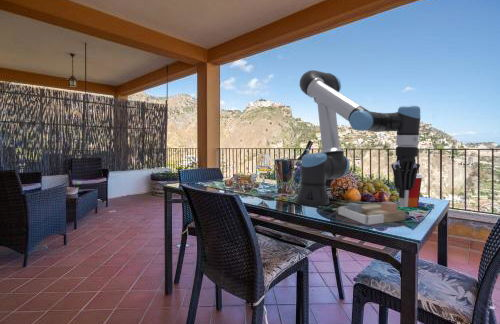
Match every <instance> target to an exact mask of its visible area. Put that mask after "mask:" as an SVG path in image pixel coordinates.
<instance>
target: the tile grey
mask: <svg viewBox="0 0 500 324" xmlns="http://www.w3.org/2000/svg"><path fill="white" fill-rule="evenodd" d="M347 206H348V210H351V211H354V212H357V213H360V214H361V206H362V204H359V203H357V202H350V203H349V202H348V203H347Z"/></svg>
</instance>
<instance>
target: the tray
mask: <svg viewBox="0 0 500 324" xmlns="http://www.w3.org/2000/svg"><path fill="white" fill-rule="evenodd" d="M337 214H338V215H340V216H342V217H344V218H348V219H349V220H351V221H352V220H353V221H355V222H358V223H360V224H363V225H365V226H370V225H377V224H384V223H383V222H384V215H383V214H379V215H370V216H367V215H364V214H360V213H357V212H354V211H351V210H348V205H344V206H343V205H342V206H338V211H337Z"/></svg>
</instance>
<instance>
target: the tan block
mask: <svg viewBox="0 0 500 324" xmlns="http://www.w3.org/2000/svg"><path fill="white" fill-rule="evenodd" d="M380 205H381V210H384V211H387V212H396V211H397V210H399V208H398V206H399V203H397V202H393V201H389V200H388V201H381V203H380Z"/></svg>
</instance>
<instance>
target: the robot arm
mask: <svg viewBox="0 0 500 324" xmlns="http://www.w3.org/2000/svg"><path fill="white" fill-rule="evenodd" d="M341 84H342V83H341V80H340V78H339V77H338V76H337V75H336V74H333V73H330V72H324V71H319V70H311V69H310V70H307V71H305V72H304V73H303V74H302V75H301V76H300V80H299V88H300V90H301V92H302V93H304V94H305V95H306V96H308V97H309V98H311V99H313V102H314V103H315V104H317V112H318V121H319V122H318V123H319V131H320V141H321V151H319V152H314V153H312V152H311V153H306V154H304V155H302V157H301V162H300V187H299V190H298V192H297V195H296V202H297V203H298V204H301V205H305V206H314V207H315V206H316V207H317V206H318V207H319V206H321V207H322V206H326V205H330V198H329V195H328V191H327V187H326V185H327V180H335V179H337V178H338V179H341V178H343V176H344V177H345V176H346V175H347V174H348V172H349V171H350V167H351V166H350V165H351V164H350V160H349V158H347V156H345V155H344V154H345V153H344V150H343V149H342V148H341V147H340V146H341V145H340V136H339V129H338V120H337V115H339V116H341V117H342V118H343V119H345V120H346V121H347V122H348V123H349V125H350V127H351V129H353V130H355V131H360V132H364V131H366V132H368V131H370V132H373V133H374V132H376V133H381V132H396V137H395V138H396V143H395V145H396V147H395V156H396V162H395V163H392V164H391V169H392V172H393V173H392V174H393V180H394V187H395V189H397V190H398V200H399V202H398V206H400V207H403V208H408V198H409V190H412V189H411V188H414V184H415V180H416V176H417V173H418V171H419V168H420V166H421V164H419V163H417V162H416V158H417V157H418V156H419V148H418V146H419V140H420V128H421V127H420V126H421V125H420V124H421V119H422V117H421V107H420V106H418V105H401V106H399V107H398V109H397V111H396V112H376V111H370V110H369V109H367V108H365V107H363V106H362V105H360V104H359V103H357V102H356V101H353V100H352V99H351V98H349V97H348V96H345V95H344V94H342V93H341V92H340V91H341V89H342V85H341ZM340 177H341V178H340Z"/></svg>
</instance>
